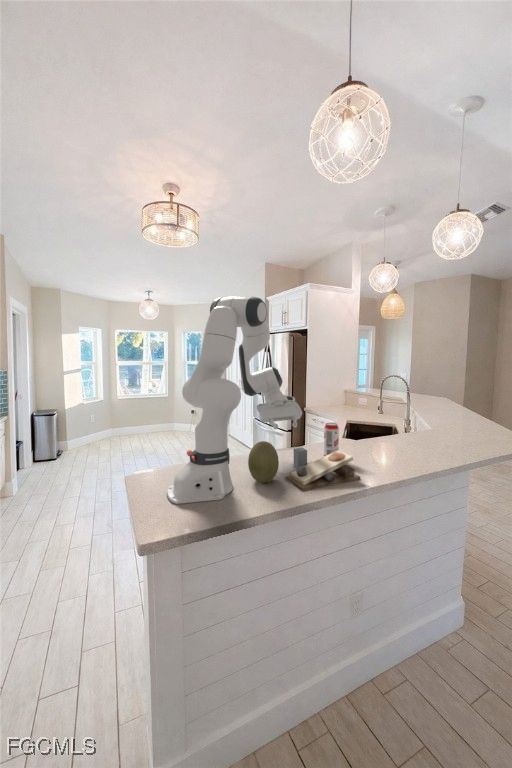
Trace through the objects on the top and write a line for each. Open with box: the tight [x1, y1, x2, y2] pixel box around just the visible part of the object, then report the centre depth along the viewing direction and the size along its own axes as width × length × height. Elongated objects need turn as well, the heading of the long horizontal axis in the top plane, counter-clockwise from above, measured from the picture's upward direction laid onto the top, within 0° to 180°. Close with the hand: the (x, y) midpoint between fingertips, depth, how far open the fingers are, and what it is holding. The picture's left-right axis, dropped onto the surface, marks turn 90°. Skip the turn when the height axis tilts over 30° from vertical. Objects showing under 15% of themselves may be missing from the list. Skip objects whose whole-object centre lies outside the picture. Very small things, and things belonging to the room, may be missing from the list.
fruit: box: [247, 440, 280, 484], centre depth 117 cm, size 11×11×15 cm
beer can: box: [323, 422, 340, 457], centre depth 140 cm, size 6×6×16 cm
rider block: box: [293, 447, 308, 470], centre depth 130 cm, size 4×4×8 cm
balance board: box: [290, 450, 354, 485], centre depth 118 cm, size 22×9×4 cm, turn 112°
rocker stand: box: [285, 464, 361, 492], centre depth 119 cm, size 25×12×4 cm, turn 112°
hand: (286, 427), depth 141 cm, fingers open, 8 cm apart
